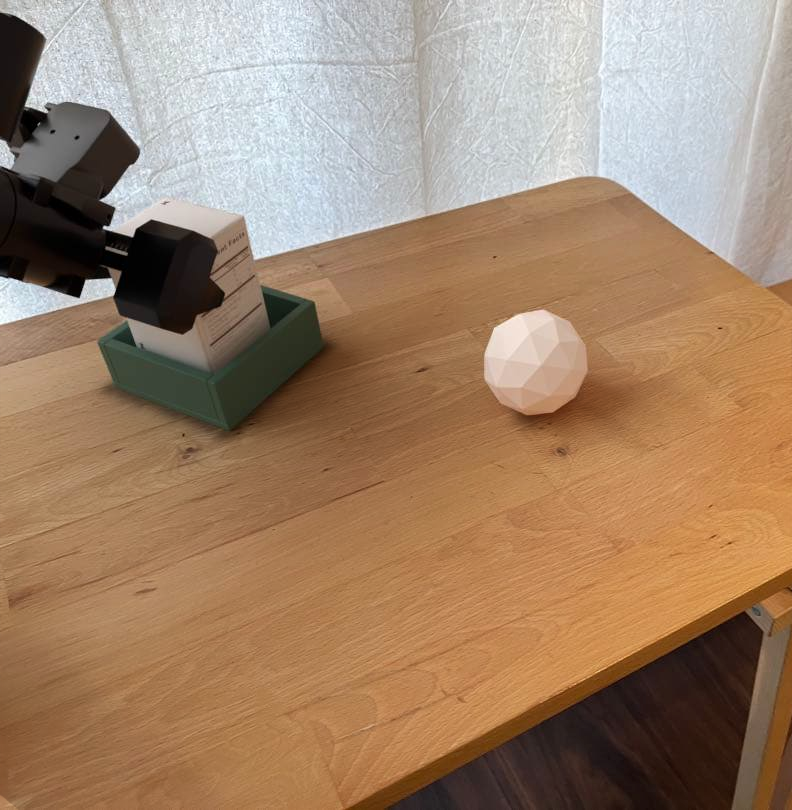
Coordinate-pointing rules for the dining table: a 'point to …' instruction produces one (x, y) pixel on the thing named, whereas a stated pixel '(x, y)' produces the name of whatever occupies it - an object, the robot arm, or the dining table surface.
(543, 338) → the geometric ball
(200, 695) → the dining table surface
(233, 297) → the white packaging box
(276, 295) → the bin
